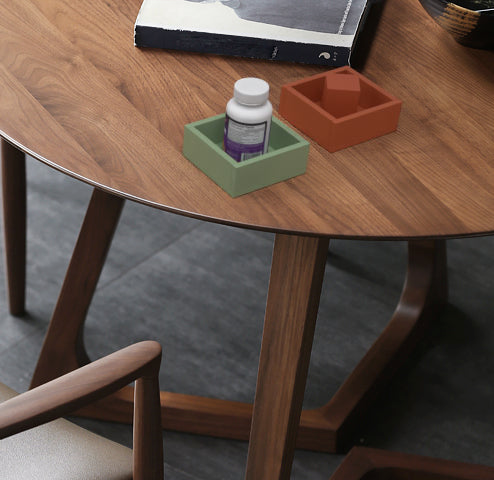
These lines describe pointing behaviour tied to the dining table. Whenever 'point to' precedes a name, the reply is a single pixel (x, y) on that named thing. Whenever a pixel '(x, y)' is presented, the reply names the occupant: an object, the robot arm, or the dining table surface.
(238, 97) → the pill bottle
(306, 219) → the dining table surface
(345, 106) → the red block
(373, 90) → the terracotta bin
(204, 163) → the sage bin
